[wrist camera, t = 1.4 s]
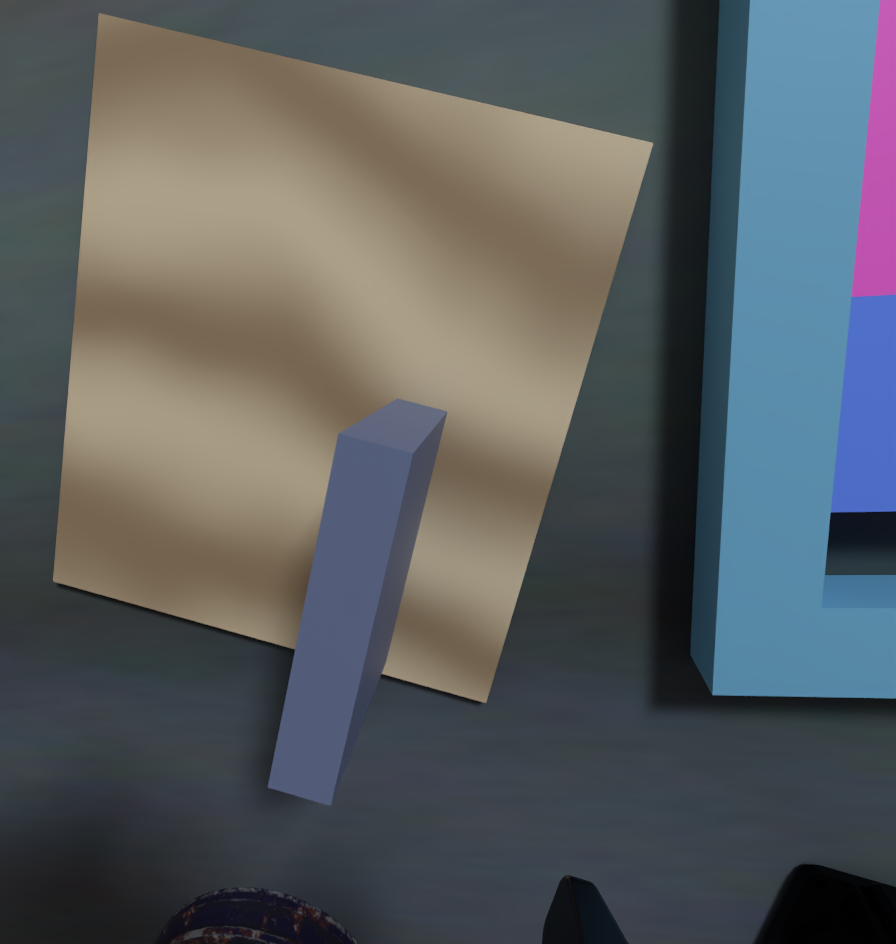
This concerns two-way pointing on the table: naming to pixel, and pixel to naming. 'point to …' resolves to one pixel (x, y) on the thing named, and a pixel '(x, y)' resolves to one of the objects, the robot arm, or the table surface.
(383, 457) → the card deck
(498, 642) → the wooden mat
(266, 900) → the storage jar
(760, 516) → the tetris game
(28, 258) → the table surface
